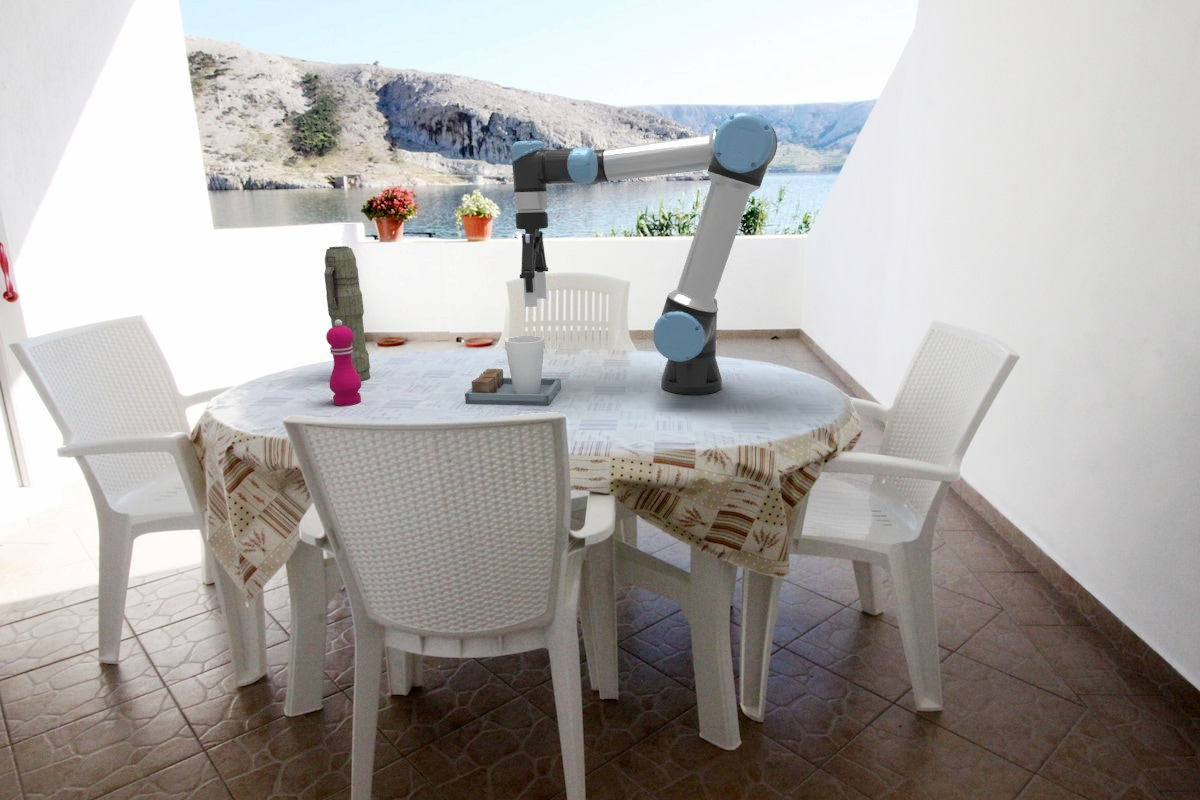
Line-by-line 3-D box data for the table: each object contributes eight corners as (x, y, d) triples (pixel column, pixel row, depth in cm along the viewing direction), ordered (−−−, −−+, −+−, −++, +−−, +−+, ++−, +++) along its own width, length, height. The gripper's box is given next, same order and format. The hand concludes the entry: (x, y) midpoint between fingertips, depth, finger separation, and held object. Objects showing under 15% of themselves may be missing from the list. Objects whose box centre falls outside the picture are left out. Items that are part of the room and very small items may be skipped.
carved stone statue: (326, 383, 189) (310, 248, 179) (349, 372, 200) (335, 245, 190) (357, 384, 187) (342, 248, 177) (378, 373, 198) (365, 245, 188)
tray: (560, 387, 181) (560, 378, 181) (548, 405, 166) (548, 395, 166) (484, 386, 184) (483, 377, 183) (465, 403, 169) (464, 393, 168)
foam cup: (527, 399, 168) (525, 344, 164) (499, 393, 174) (496, 340, 170) (553, 390, 175) (552, 338, 172) (526, 384, 181) (524, 334, 177)
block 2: (498, 388, 178) (497, 373, 176) (496, 392, 174) (495, 376, 173) (481, 388, 177) (481, 373, 176) (479, 393, 174) (478, 377, 173)
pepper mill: (333, 407, 167) (323, 323, 161) (329, 400, 173) (319, 318, 167) (365, 403, 170) (356, 320, 164) (360, 396, 176) (351, 316, 170)
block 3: (503, 384, 182) (502, 369, 180) (499, 388, 178) (498, 372, 177) (488, 383, 182) (487, 368, 181) (483, 388, 178) (482, 372, 177)
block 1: (494, 394, 173) (493, 378, 172) (488, 398, 169) (487, 382, 168) (479, 393, 174) (478, 377, 172) (472, 397, 170) (471, 381, 169)
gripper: (525, 210, 179) (530, 295, 184) (503, 213, 155) (510, 310, 161) (555, 210, 178) (559, 295, 184) (538, 212, 154) (543, 309, 160)
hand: (536, 302), depth 172 cm, fingers open, 13 cm apart
